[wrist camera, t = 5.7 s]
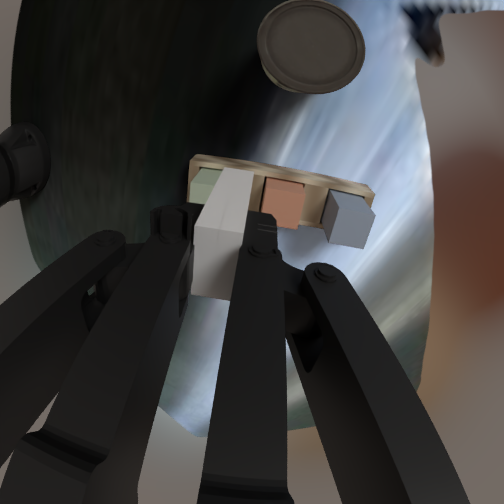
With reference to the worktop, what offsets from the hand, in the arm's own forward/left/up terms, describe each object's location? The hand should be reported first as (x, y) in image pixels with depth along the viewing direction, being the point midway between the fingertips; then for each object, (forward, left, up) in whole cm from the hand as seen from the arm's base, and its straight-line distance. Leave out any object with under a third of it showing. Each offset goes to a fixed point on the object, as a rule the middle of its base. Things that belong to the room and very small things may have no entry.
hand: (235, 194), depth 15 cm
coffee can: (+4, +11, -29) cm, 31 cm away
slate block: (+14, -9, -25) cm, 30 cm away
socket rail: (+5, -9, -28) cm, 30 cm away
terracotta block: (+5, -9, -28) cm, 29 cm away
